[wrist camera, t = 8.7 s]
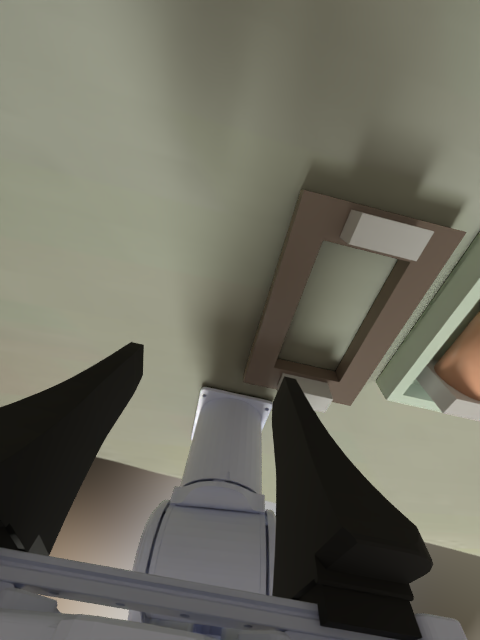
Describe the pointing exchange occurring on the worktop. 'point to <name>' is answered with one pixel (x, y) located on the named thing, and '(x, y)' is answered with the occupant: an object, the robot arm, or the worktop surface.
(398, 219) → the frame
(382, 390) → the parts tray
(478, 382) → the fuse
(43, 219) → the worktop surface
